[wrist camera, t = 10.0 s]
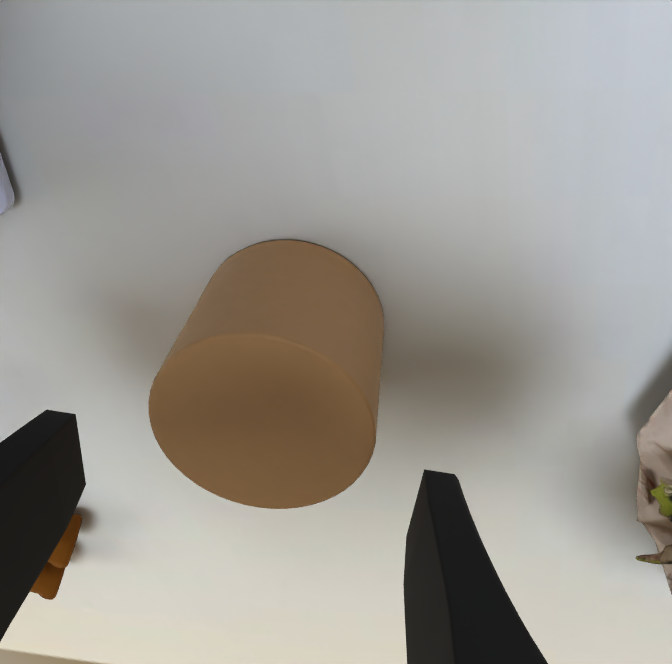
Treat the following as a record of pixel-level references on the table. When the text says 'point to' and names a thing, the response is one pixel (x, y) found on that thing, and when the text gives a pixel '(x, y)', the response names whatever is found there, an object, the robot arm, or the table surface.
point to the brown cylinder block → (274, 378)
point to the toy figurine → (58, 561)
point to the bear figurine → (657, 484)
